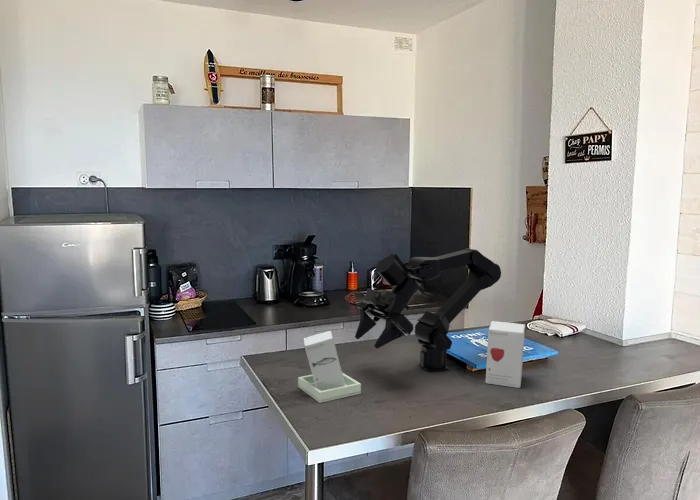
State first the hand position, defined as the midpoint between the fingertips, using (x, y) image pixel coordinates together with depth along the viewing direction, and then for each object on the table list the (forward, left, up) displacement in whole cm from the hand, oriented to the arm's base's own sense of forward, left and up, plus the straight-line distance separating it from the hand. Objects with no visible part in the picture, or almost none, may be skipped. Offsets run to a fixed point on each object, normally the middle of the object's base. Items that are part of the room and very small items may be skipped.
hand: (365, 342), depth 140 cm
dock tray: (+10, +3, -11) cm, 15 cm away
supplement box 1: (+10, +3, -9) cm, 14 cm away
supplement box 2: (-37, +8, -11) cm, 39 cm away
